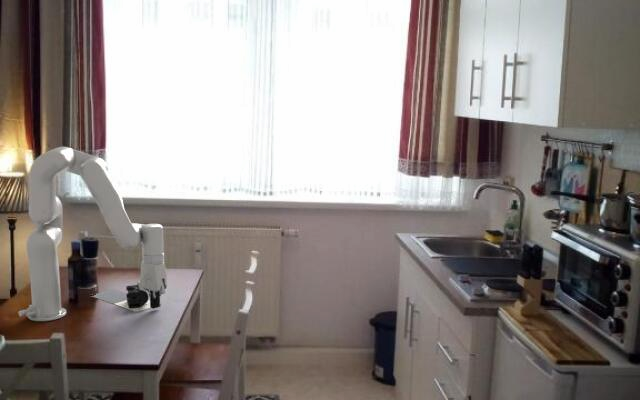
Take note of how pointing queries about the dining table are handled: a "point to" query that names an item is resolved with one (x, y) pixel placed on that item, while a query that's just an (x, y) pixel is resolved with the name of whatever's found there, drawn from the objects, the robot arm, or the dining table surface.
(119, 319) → the dining table surface
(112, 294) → the mat
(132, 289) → the end cap
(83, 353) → the dining table surface
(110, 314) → the dining table surface
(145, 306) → the board
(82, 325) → the dining table surface
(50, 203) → the robot arm
